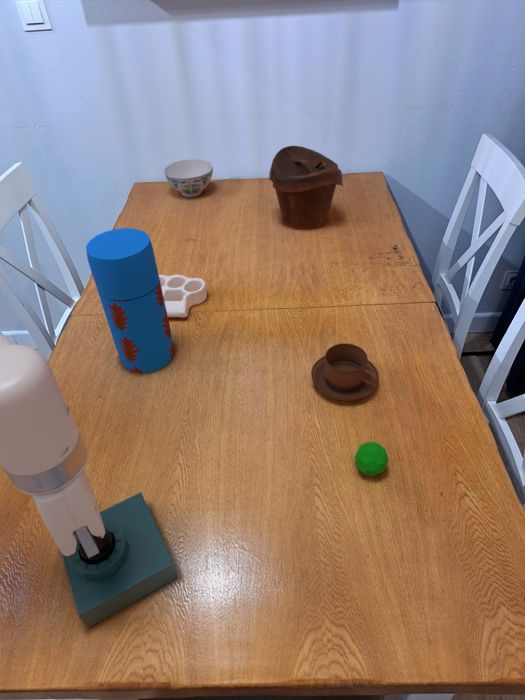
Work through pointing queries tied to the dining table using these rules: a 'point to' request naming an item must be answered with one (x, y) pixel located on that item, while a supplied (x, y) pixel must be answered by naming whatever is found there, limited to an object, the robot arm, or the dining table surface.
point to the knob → (103, 554)
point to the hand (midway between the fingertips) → (96, 543)
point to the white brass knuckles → (181, 293)
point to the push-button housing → (121, 563)
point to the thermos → (132, 298)
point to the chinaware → (189, 176)
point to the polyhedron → (371, 458)
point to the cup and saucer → (345, 373)
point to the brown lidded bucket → (304, 185)
